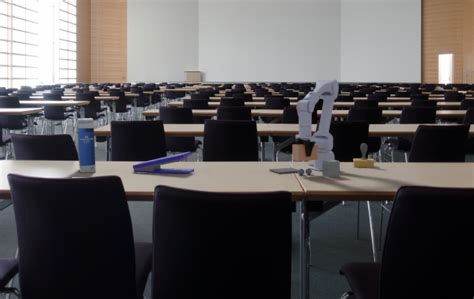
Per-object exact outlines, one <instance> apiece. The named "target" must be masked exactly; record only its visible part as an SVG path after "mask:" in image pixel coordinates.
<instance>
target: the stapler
mask: <svg viewBox="0 0 474 299" xmlns="http://www.w3.org/2000/svg"><path fill="white" fill-rule="evenodd" d="M190 156H192V152H191V151H187V152H183V153H178V154H177V153H176V154H173V155H168V156H164V157H160V158H156V159H152V160H147V161H141V162H139V163H136V164H133V165H132V169H133V173H134V172H147V173H146V174H166V175H167V174H169V175H170V174H172V175H174V174H175V175H188V174H191V173H193V172H194V171H195V168H178V167H177V168H175V167H174V168H172V167H171V168H170V167H161V166H163V165H167V164H173V163H179V162H182V161H184V160H187V159H188V157H190Z"/></svg>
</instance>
